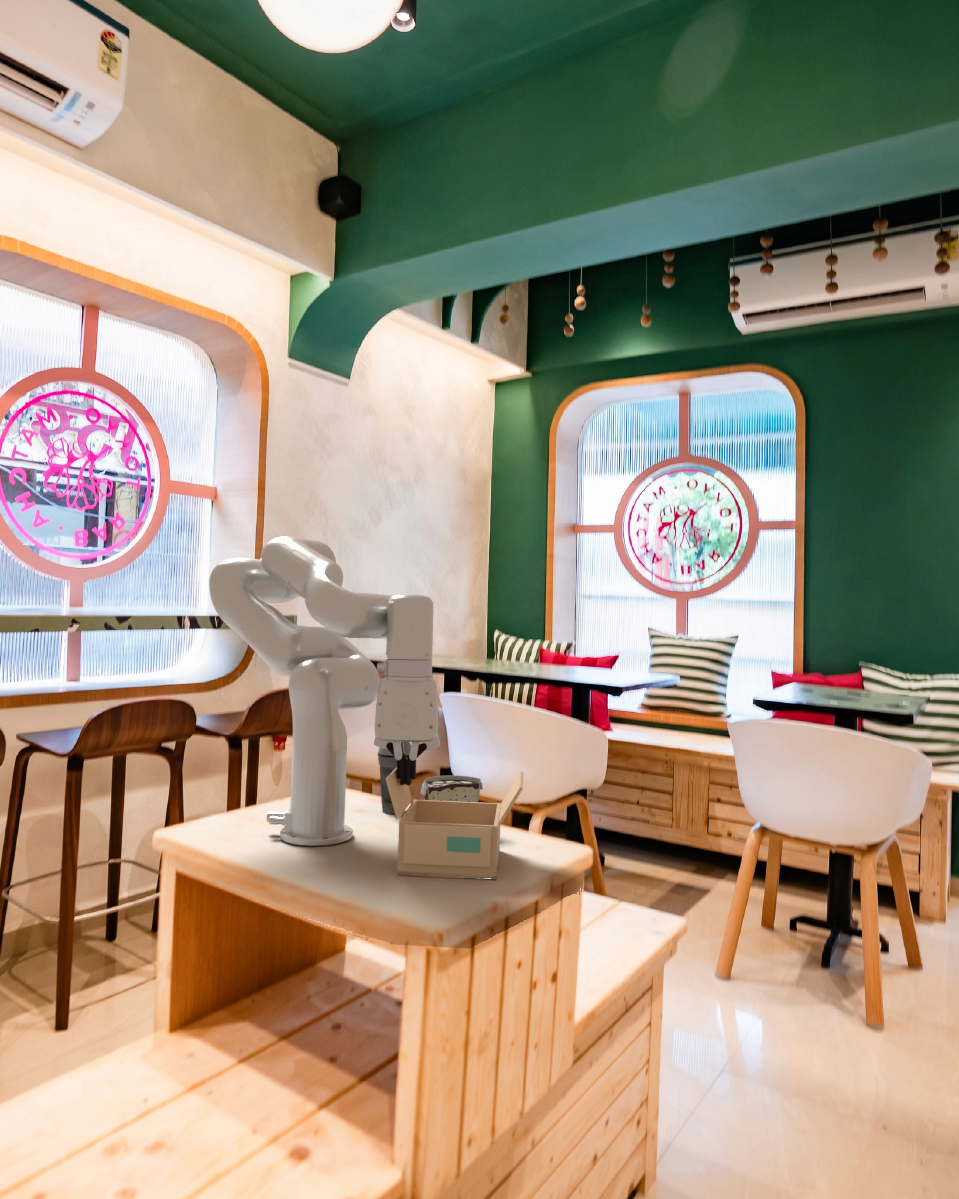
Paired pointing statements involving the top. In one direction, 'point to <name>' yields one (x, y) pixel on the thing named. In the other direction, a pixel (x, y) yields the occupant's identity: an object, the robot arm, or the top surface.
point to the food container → (452, 788)
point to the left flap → (398, 793)
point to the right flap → (511, 797)
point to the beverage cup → (386, 767)
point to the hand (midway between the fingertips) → (406, 783)
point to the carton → (449, 839)
